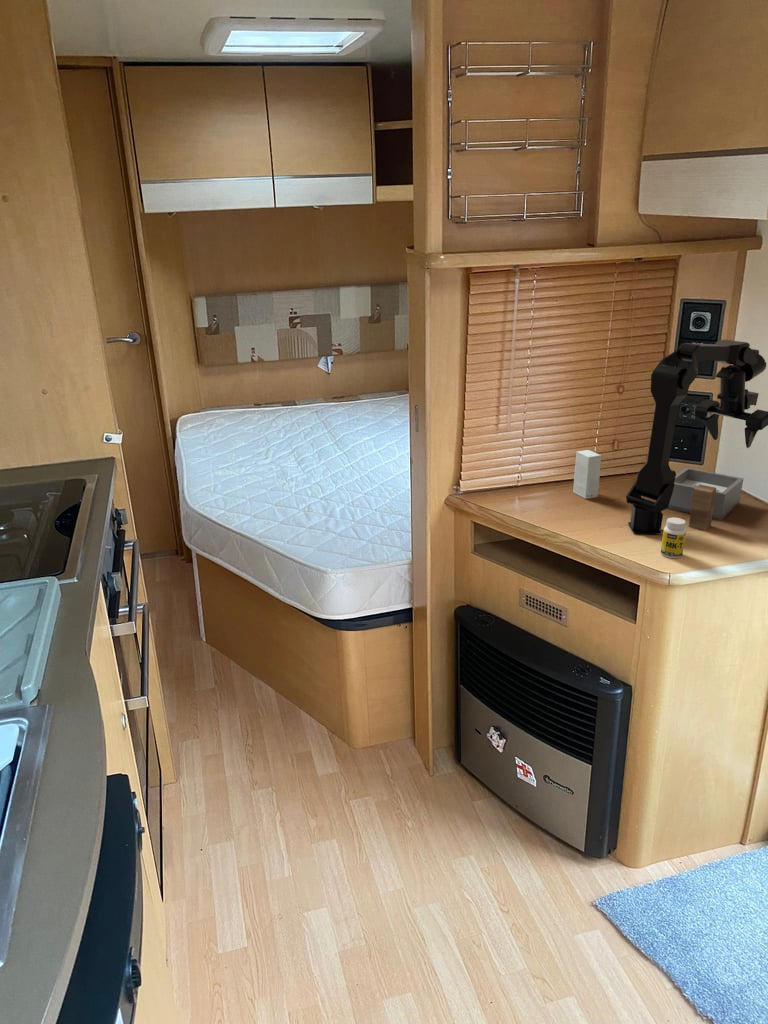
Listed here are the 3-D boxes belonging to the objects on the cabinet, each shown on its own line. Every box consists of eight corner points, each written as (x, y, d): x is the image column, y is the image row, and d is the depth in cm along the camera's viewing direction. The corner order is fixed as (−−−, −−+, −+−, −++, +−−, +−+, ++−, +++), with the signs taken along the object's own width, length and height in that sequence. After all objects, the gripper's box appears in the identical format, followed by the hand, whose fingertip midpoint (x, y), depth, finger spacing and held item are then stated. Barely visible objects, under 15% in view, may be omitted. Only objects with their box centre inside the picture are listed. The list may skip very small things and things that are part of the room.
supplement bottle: (662, 558, 176) (666, 524, 173) (658, 549, 180) (663, 516, 177) (684, 559, 175) (689, 525, 172) (680, 550, 179) (685, 517, 176)
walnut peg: (705, 530, 190) (711, 492, 186) (688, 526, 192) (694, 488, 189) (710, 525, 193) (716, 487, 189) (694, 521, 195) (699, 484, 191)
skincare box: (598, 497, 212) (602, 455, 207) (585, 499, 210) (588, 457, 206) (585, 490, 217) (588, 449, 213) (572, 492, 216) (575, 451, 211)
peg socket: (720, 520, 196) (725, 494, 193) (662, 507, 205) (665, 481, 202) (739, 503, 206) (743, 478, 204) (682, 491, 215) (686, 467, 213)
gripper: (786, 382, 193) (783, 438, 201) (717, 371, 207) (717, 423, 215) (761, 400, 188) (759, 456, 196) (692, 387, 202) (693, 440, 210)
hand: (731, 443), depth 204 cm, fingers open, 9 cm apart
